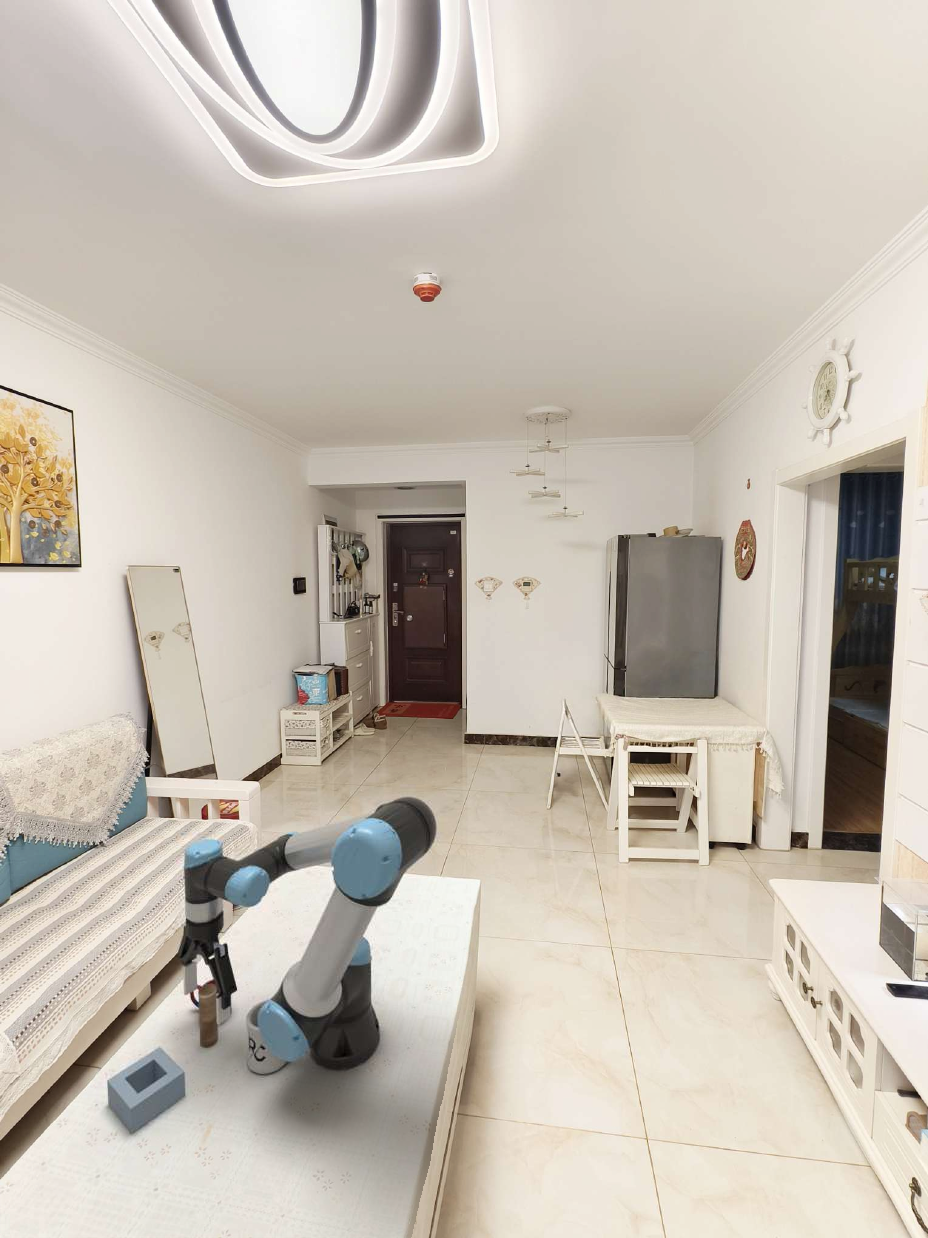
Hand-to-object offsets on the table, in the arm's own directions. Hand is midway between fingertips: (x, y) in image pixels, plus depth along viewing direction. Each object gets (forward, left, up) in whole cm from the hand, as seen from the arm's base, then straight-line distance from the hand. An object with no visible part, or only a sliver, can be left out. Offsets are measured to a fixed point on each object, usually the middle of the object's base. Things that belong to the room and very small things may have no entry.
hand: (206, 1005), depth 128 cm
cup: (+7, -5, -8) cm, 12 cm away
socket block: (-4, +15, -8) cm, 18 cm away
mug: (-16, -6, -8) cm, 19 cm away
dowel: (0, 0, -8) cm, 8 cm away
